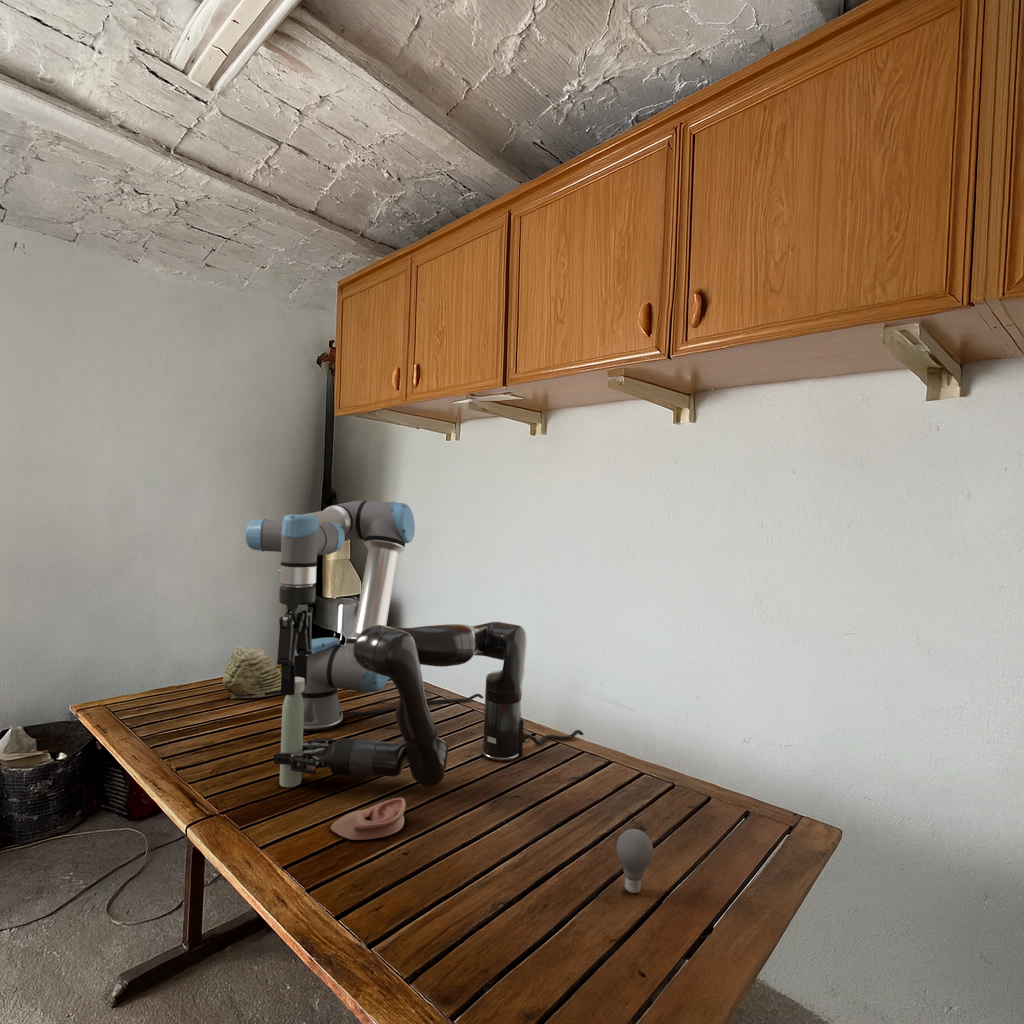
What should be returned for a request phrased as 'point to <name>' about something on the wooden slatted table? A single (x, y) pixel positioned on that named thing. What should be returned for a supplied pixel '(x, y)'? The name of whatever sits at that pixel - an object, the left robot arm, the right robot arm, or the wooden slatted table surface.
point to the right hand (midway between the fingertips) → (279, 753)
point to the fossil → (251, 674)
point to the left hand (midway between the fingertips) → (293, 689)
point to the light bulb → (634, 857)
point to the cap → (299, 684)
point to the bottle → (291, 737)
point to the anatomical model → (372, 821)
